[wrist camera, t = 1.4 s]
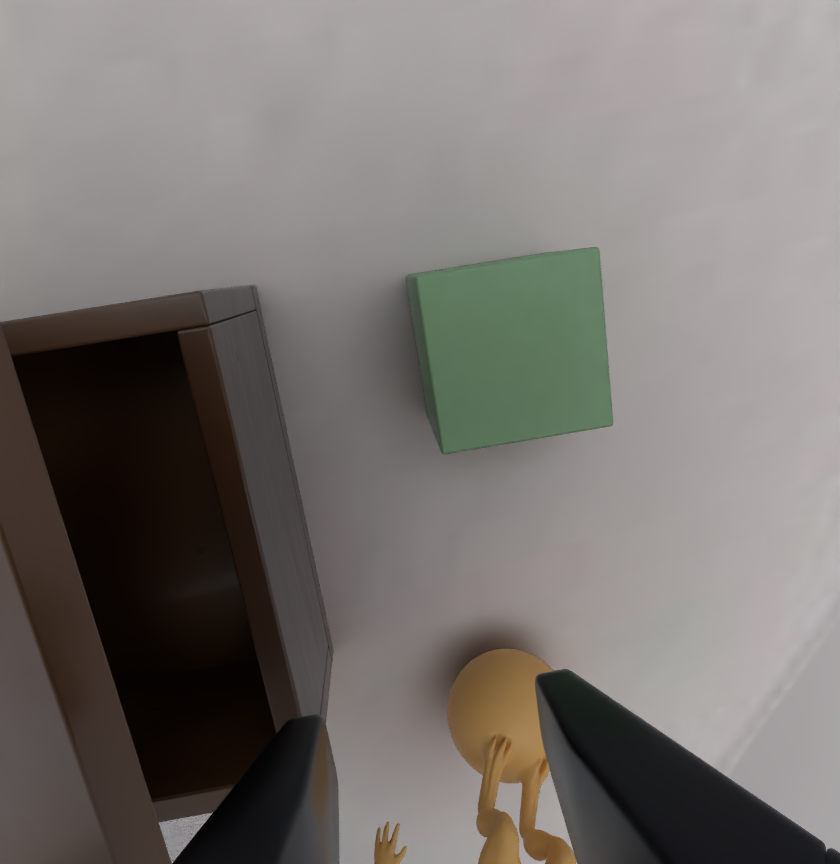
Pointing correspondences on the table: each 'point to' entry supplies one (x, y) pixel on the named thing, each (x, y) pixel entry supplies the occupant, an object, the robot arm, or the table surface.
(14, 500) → the lid
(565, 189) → the table surface
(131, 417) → the box
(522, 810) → the figurine
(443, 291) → the block
